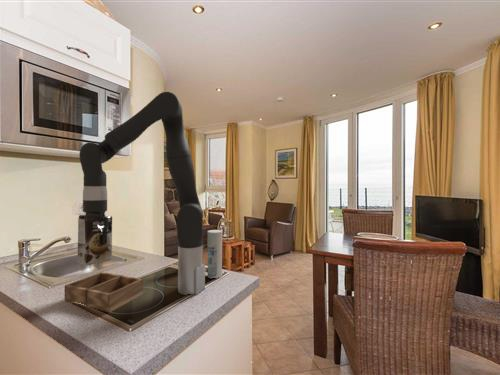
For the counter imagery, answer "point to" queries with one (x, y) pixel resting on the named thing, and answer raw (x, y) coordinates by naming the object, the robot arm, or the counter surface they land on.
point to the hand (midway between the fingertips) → (95, 244)
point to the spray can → (214, 253)
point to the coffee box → (92, 242)
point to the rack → (104, 291)
